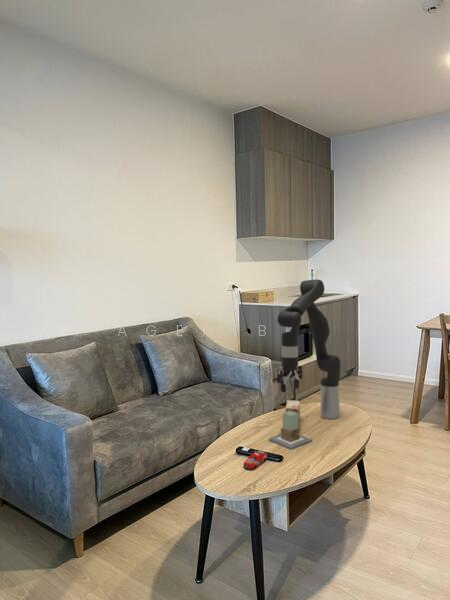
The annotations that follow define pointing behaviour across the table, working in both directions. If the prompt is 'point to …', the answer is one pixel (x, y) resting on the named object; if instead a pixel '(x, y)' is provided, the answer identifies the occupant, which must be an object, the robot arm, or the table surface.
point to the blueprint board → (273, 439)
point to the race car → (255, 460)
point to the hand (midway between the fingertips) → (289, 390)
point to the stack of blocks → (293, 408)
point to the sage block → (290, 420)
